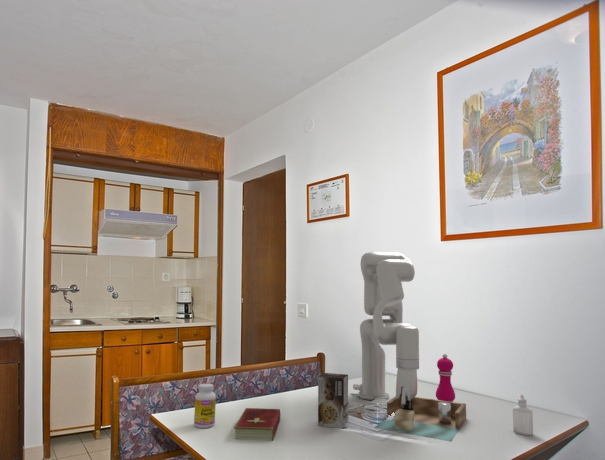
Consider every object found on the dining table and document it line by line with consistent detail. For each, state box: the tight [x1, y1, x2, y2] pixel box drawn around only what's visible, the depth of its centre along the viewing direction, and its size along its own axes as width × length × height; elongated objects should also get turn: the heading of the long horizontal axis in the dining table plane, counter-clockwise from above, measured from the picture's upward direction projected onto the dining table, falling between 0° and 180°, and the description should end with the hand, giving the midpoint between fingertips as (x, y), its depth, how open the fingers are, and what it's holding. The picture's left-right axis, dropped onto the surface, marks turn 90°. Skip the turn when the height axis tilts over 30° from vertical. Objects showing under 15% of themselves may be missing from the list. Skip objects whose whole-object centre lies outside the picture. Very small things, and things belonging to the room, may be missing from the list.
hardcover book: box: [233, 407, 282, 441], centre depth 152 cm, size 12×21×4 cm, turn 177°
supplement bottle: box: [193, 383, 217, 429], centre depth 154 cm, size 7×7×13 cm
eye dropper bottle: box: [512, 394, 534, 436], centre depth 152 cm, size 4×6×12 cm
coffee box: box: [317, 372, 349, 430], centre depth 158 cm, size 9×6×16 cm
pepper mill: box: [435, 353, 456, 402], centre depth 181 cm, size 7×7×20 cm
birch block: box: [395, 409, 414, 431], centre depth 152 cm, size 5×5×5 cm
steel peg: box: [438, 402, 451, 424], centre depth 158 cm, size 4×4×6 cm
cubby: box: [374, 395, 467, 442], centre depth 157 cm, size 24×26×6 cm
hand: (407, 419), depth 156 cm, fingers closed
